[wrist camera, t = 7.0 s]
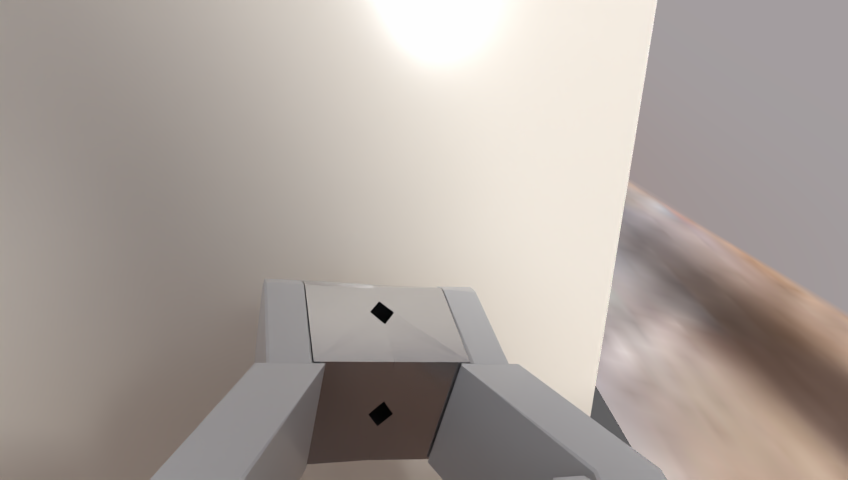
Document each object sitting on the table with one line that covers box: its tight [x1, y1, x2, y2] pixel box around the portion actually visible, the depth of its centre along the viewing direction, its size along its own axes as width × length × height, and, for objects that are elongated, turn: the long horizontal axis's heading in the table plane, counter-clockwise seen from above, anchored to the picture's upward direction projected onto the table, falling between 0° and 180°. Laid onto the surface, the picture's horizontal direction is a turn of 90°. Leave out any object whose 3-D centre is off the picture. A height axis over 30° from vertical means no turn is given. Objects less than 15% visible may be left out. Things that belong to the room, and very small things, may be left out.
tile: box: [0, 0, 657, 480], centre depth 11 cm, size 10×2×14 cm, turn 103°
